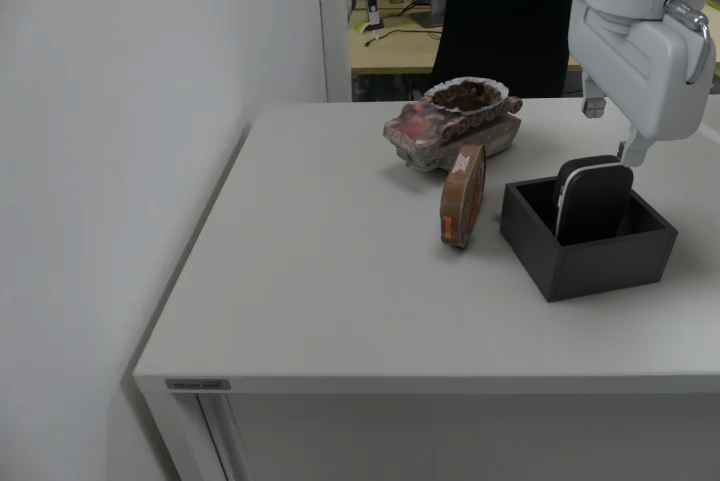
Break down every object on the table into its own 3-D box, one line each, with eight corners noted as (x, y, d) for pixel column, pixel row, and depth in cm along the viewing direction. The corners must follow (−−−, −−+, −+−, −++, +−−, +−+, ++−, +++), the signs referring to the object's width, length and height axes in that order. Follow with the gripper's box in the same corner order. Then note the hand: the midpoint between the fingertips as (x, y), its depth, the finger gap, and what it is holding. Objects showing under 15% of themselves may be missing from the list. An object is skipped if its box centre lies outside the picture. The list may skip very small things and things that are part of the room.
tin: (461, 262, 62) (466, 200, 57) (433, 257, 63) (436, 195, 58) (486, 191, 73) (492, 133, 68) (462, 187, 74) (466, 130, 69)
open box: (596, 213, 68) (609, 167, 64) (660, 281, 59) (679, 231, 55) (499, 230, 67) (505, 183, 63) (547, 302, 57) (558, 252, 53)
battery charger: (596, 235, 64) (620, 146, 57) (613, 256, 61) (641, 165, 54) (538, 243, 64) (555, 155, 56) (552, 265, 61) (572, 174, 53)
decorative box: (544, 163, 78) (556, 98, 72) (427, 210, 71) (429, 141, 65) (482, 127, 87) (488, 67, 81) (373, 165, 80) (370, 102, 74)
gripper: (765, 19, 36) (696, 196, 45) (636, -49, 52) (603, 92, 61) (667, 25, 36) (617, 201, 45) (568, -45, 52) (545, 95, 61)
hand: (608, 137), depth 53 cm, fingers open, 8 cm apart
